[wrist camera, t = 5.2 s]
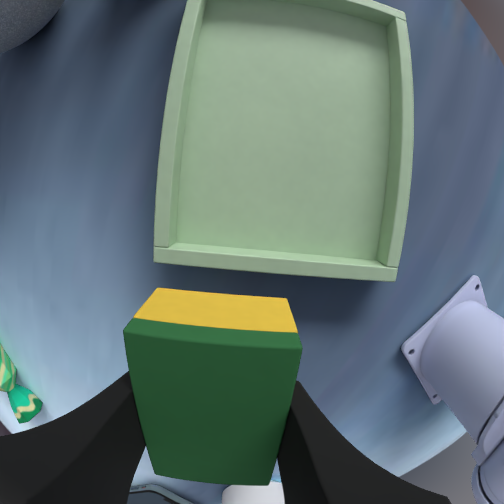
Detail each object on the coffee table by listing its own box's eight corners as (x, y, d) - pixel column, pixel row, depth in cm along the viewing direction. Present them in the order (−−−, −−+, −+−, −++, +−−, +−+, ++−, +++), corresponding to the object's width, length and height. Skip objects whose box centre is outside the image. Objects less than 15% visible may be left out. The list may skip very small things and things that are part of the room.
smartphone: (88, 495, 21) (151, 490, 19) (92, 487, 23) (155, 478, 20) (132, 519, 23) (204, 516, 20) (134, 511, 24) (205, 505, 22)
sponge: (157, 286, 9) (121, 329, 6) (287, 297, 10) (304, 346, 6) (169, 423, 11) (154, 475, 8) (265, 432, 11) (269, 486, 8)
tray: (198, -6, 12) (193, -24, 10) (392, 25, 12) (405, 12, 10) (164, 253, 15) (152, 262, 13) (380, 271, 16) (395, 282, 14)
